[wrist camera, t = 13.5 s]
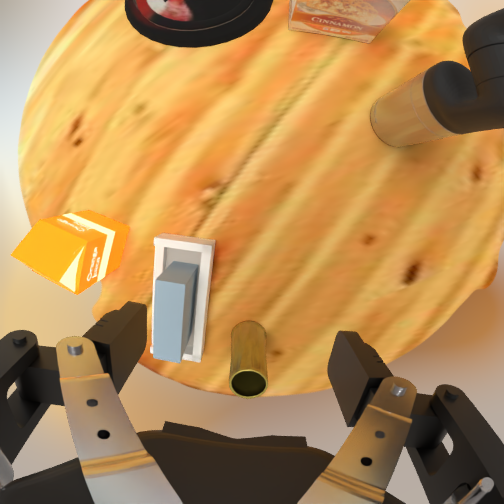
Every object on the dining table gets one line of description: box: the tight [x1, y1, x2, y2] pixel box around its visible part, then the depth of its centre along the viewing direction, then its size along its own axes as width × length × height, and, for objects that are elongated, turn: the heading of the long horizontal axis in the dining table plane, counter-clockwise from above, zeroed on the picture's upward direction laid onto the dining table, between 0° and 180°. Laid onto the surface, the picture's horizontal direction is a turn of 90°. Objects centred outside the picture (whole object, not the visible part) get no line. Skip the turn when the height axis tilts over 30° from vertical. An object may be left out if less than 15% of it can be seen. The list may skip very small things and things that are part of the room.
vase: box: [229, 321, 268, 399], centre depth 44 cm, size 6×6×14 cm
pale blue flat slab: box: [153, 261, 198, 363], centre depth 43 cm, size 4×12×10 cm, turn 171°
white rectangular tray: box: [150, 233, 216, 362], centre depth 47 cm, size 9×20×4 cm, turn 172°
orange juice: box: [11, 210, 130, 295], centre depth 37 cm, size 8×9×20 cm
